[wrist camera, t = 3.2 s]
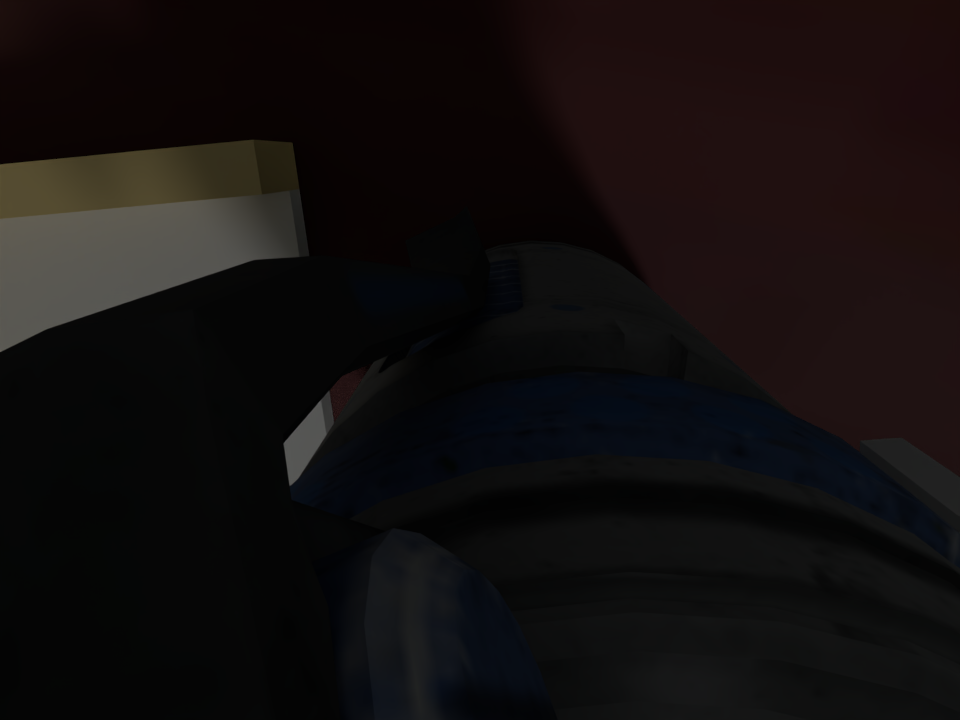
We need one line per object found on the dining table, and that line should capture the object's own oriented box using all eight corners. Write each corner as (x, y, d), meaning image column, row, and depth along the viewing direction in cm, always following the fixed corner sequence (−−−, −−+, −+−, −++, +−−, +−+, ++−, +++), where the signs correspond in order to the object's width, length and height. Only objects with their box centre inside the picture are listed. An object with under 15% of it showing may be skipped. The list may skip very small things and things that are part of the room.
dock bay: (-153, 185, 26) (-344, 194, 20) (292, 142, 25) (227, 137, 19) (-5, 686, 31) (-123, 808, 25) (370, 664, 30) (336, 786, 24)
